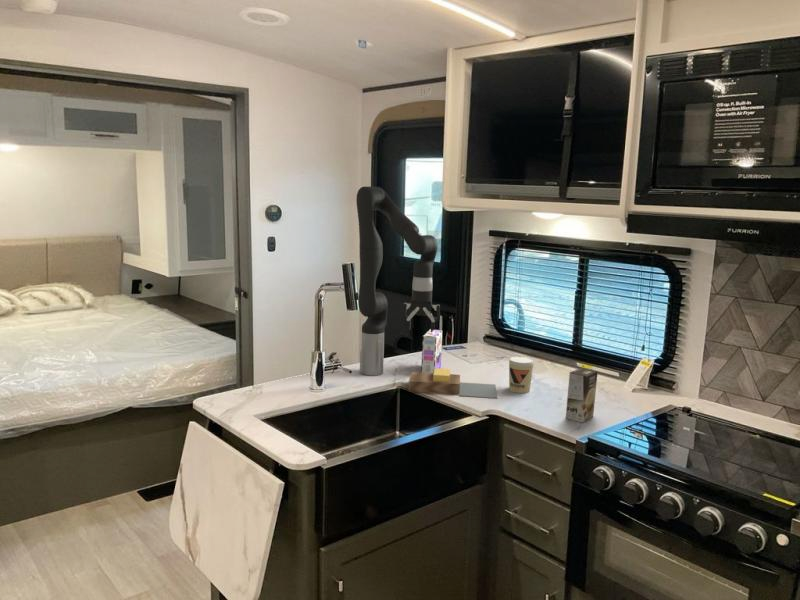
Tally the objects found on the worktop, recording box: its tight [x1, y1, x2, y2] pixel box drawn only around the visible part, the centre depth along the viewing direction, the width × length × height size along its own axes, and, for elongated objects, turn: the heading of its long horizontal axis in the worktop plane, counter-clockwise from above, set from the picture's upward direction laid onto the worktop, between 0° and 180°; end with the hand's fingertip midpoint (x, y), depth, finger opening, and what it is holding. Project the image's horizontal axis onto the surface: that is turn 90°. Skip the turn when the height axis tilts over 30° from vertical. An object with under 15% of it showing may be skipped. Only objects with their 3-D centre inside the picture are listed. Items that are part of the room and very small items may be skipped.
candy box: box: [420, 328, 443, 373], centre depth 258 cm, size 14×6×16 cm, turn 165°
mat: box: [458, 381, 499, 400], centre depth 235 cm, size 14×16×1 cm
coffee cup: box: [508, 356, 535, 394], centre depth 236 cm, size 9×9×12 cm
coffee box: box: [565, 367, 598, 423], centre depth 208 cm, size 9×6×16 cm
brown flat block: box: [408, 371, 461, 395], centre depth 236 cm, size 19×12×4 cm, turn 84°
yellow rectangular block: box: [433, 367, 451, 382], centre depth 235 cm, size 6×9×2 cm, turn 174°
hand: (420, 330), depth 233 cm, fingers open, 8 cm apart
